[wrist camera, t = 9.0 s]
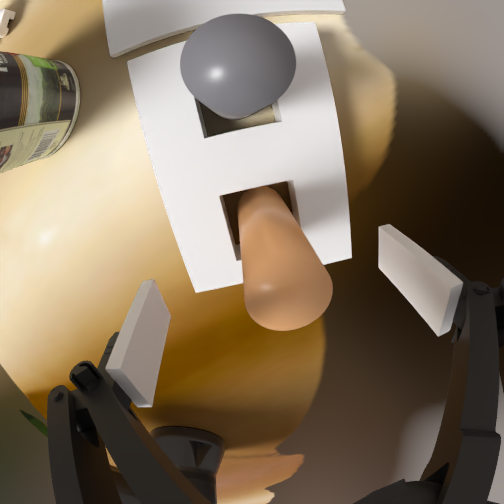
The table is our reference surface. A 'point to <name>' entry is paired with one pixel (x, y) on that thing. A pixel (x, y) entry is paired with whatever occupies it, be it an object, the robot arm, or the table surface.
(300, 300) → the jaw pin orange
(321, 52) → the housing
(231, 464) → the table surface
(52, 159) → the table surface
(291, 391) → the table surface
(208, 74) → the ball
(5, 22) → the joystick
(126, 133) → the table surface
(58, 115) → the coffee can
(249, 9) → the lid
